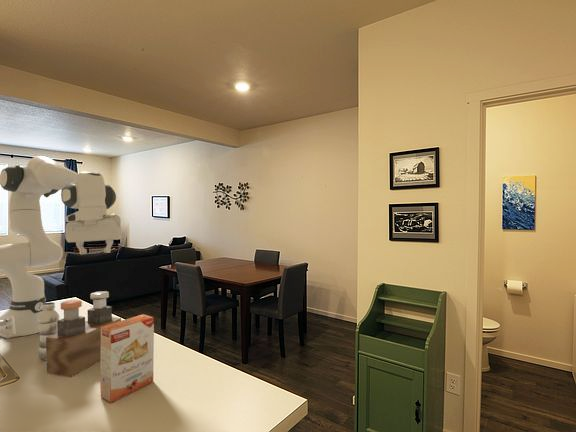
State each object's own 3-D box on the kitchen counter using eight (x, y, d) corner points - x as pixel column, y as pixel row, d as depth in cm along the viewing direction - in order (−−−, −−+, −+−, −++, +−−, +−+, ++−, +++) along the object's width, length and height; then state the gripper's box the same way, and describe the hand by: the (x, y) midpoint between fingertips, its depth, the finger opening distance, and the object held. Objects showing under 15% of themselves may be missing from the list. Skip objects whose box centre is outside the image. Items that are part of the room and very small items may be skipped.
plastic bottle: (49, 363, 116) (48, 307, 116) (33, 361, 117) (32, 305, 117) (64, 355, 122) (64, 301, 122) (49, 353, 124) (48, 300, 123)
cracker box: (111, 404, 92) (110, 330, 92) (99, 397, 96) (98, 326, 95) (155, 381, 104) (154, 316, 104) (143, 376, 108) (142, 313, 107)
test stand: (46, 373, 109) (45, 322, 109) (100, 345, 131) (99, 303, 130) (70, 377, 107) (70, 325, 106) (121, 348, 128) (120, 305, 128)
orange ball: (56, 323, 110) (56, 304, 110) (72, 317, 116) (72, 299, 116) (70, 324, 109) (70, 305, 109) (86, 318, 115) (85, 300, 114)
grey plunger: (86, 312, 122) (86, 294, 122) (99, 307, 128) (99, 290, 128) (100, 313, 120) (99, 296, 120) (112, 308, 126) (112, 291, 126)
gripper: (125, 214, 123) (127, 251, 123) (74, 217, 125) (76, 254, 125) (114, 213, 117) (116, 252, 116) (61, 217, 119) (63, 255, 118)
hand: (95, 253), depth 121 cm, fingers open, 8 cm apart
